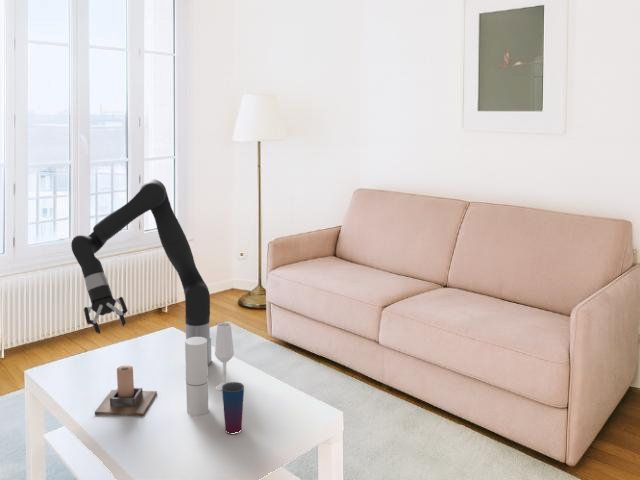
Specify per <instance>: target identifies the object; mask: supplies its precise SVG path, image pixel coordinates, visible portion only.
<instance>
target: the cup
mask: <svg viewBox="0 0 640 480" xmlns="http://www.w3.org/2000/svg"><path fill="white" fill-rule="evenodd" d="M221 393H222V403H223V415H224V428H225V432H226V431H227V432H229V433H235V432H239V431H240V430H241V431H242V427H243V412H244V411H243V409H244V396H245V395H244V393H245V385H244V384H243V383H241V382H239V381H238V382H236V381H232V382H231V381H230V382H228V383H226V384H224V385H223V386H222V391H221Z"/></svg>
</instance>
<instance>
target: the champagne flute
mask: <svg viewBox="0 0 640 480" xmlns="http://www.w3.org/2000/svg"><path fill="white" fill-rule="evenodd" d="M232 332H233V331H232V325H231V323H229V322H220V323H219V322H218V323H217V325H216V336H215V348H214V350H215V351H214V356H215V357H216V359H218V361H220V362H221V363H222V378H223V379H222V382H221V383H218V384H217V385H216V386H215V388H216V387H217V389H218V390H217V389H216V390H217V391H219V390H222V386H223V385H224V384H226V383H229V382H227V363H229V361H231V359H232V358H233V357H234V355H235V351H234V350H235V349H234V342H233V333H232Z"/></svg>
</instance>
